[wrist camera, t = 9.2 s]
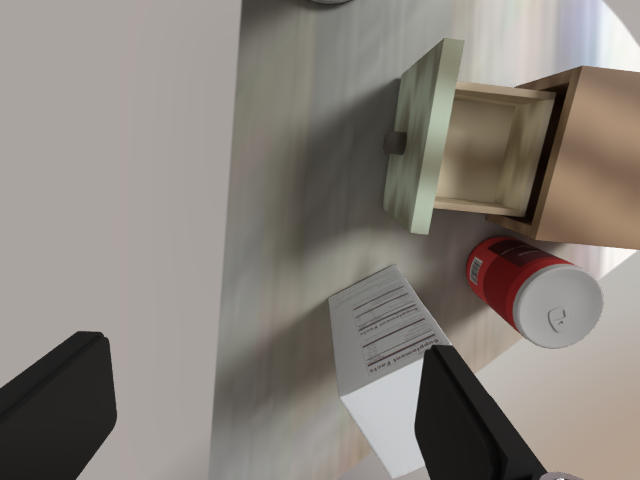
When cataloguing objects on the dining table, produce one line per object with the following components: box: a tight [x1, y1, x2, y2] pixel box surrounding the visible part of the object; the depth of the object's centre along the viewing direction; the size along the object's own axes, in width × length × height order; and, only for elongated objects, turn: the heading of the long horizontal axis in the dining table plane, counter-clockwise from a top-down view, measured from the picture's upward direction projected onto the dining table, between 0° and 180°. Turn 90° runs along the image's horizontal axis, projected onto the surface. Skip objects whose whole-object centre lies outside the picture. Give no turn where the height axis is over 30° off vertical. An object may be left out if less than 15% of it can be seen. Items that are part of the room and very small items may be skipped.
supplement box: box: [328, 264, 452, 479], centre depth 33 cm, size 10×9×17 cm
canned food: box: [466, 236, 604, 349], centre depth 35 cm, size 8×8×11 cm
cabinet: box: [486, 66, 640, 250], centre depth 33 cm, size 14×12×9 cm
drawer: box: [382, 38, 556, 235], centre depth 31 cm, size 14×14×12 cm
